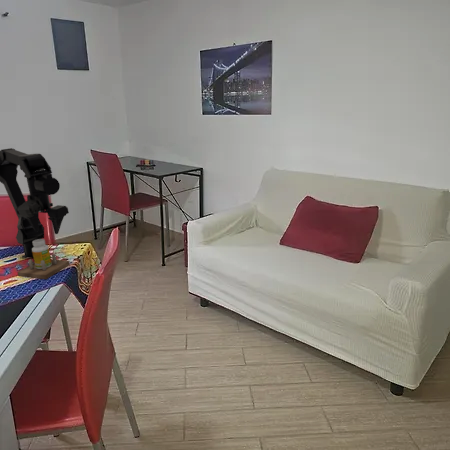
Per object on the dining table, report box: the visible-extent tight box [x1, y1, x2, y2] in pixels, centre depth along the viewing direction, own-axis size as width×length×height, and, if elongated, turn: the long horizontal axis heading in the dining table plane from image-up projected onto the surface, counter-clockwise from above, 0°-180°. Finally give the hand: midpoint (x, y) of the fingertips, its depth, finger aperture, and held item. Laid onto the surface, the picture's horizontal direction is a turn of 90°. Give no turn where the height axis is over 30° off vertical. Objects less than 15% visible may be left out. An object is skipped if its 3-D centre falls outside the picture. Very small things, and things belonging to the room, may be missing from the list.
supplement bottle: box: [32, 238, 52, 269], centre depth 142 cm, size 5×5×10 cm
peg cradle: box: [17, 254, 71, 280], centre depth 143 cm, size 12×12×5 cm
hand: (46, 232), depth 145 cm, fingers open, 9 cm apart
